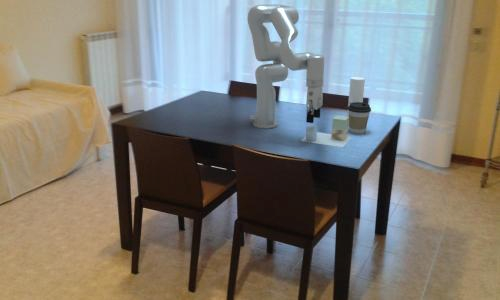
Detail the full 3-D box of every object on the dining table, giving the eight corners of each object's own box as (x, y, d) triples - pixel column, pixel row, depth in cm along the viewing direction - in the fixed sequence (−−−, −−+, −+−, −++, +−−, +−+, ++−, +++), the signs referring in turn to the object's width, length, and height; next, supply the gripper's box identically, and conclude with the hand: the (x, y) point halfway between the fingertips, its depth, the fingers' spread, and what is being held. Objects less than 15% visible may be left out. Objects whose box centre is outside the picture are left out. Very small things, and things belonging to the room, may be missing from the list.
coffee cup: (369, 138, 234) (372, 108, 228) (345, 136, 235) (348, 106, 230) (368, 131, 244) (371, 102, 239) (345, 129, 246) (347, 101, 241)
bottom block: (331, 139, 227) (332, 128, 225) (334, 135, 232) (335, 125, 230) (343, 140, 225) (344, 130, 223) (347, 137, 230) (348, 127, 228)
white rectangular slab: (300, 143, 225) (300, 140, 224) (311, 134, 238) (311, 131, 238) (342, 150, 217) (343, 147, 216) (351, 140, 230) (351, 137, 230)
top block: (332, 128, 225) (332, 118, 224) (335, 125, 230) (336, 115, 229) (344, 130, 223) (345, 120, 221) (348, 127, 228) (348, 117, 226)
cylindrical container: (351, 122, 258) (355, 76, 249) (363, 125, 253) (367, 78, 244) (343, 125, 253) (347, 78, 244) (355, 128, 248) (359, 80, 239)
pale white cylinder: (304, 140, 224) (304, 128, 222) (307, 137, 228) (308, 125, 226) (314, 142, 222) (315, 130, 220) (317, 139, 226) (318, 127, 224)
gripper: (316, 87, 207) (315, 125, 212) (328, 80, 222) (326, 116, 227) (300, 85, 210) (299, 123, 215) (312, 79, 225) (311, 114, 230)
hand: (313, 120), depth 221 cm, fingers open, 9 cm apart
